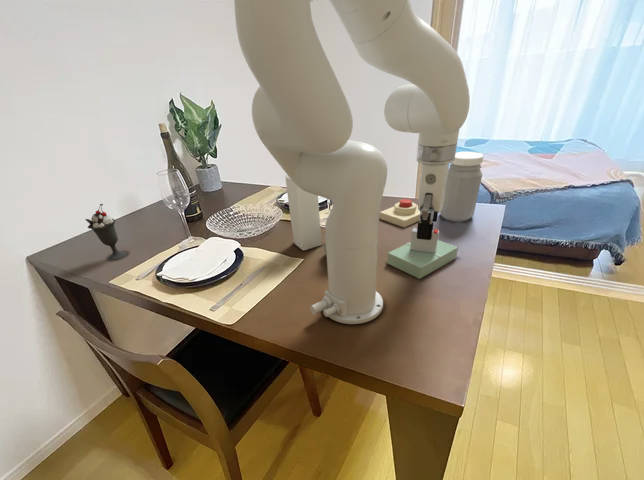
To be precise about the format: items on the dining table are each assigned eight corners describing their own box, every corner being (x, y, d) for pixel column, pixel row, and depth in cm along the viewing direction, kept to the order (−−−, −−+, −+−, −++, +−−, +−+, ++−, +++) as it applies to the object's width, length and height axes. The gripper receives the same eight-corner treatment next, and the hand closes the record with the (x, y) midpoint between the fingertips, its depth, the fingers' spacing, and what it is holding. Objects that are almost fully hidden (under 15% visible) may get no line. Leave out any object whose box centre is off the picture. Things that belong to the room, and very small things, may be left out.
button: (406, 209, 100) (406, 203, 99) (397, 206, 102) (397, 201, 101) (413, 206, 102) (414, 200, 101) (404, 203, 104) (405, 198, 103)
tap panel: (420, 279, 75) (421, 267, 73) (386, 263, 82) (387, 252, 80) (456, 258, 82) (458, 246, 80) (423, 244, 89) (424, 234, 87)
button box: (404, 227, 98) (405, 214, 96) (379, 218, 105) (380, 206, 102) (429, 216, 104) (431, 203, 101) (404, 208, 110) (405, 196, 108)
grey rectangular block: (409, 250, 80) (411, 230, 77) (411, 246, 82) (413, 226, 79) (435, 253, 78) (438, 232, 75) (436, 249, 80) (439, 229, 77)
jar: (469, 224, 96) (483, 160, 86) (435, 220, 101) (444, 158, 90) (475, 213, 103) (489, 151, 93) (443, 209, 107) (452, 149, 97)
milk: (303, 251, 90) (293, 168, 77) (293, 243, 95) (282, 163, 82) (322, 245, 93) (315, 163, 79) (312, 237, 97) (304, 158, 84)
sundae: (135, 251, 98) (112, 201, 89) (118, 262, 92) (93, 211, 84) (117, 249, 99) (93, 201, 90) (99, 260, 94) (73, 210, 85)
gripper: (451, 164, 60) (439, 248, 70) (459, 142, 72) (447, 216, 82) (409, 164, 62) (403, 245, 73) (423, 142, 75) (416, 214, 85)
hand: (426, 229), depth 77 cm, fingers open, 9 cm apart
